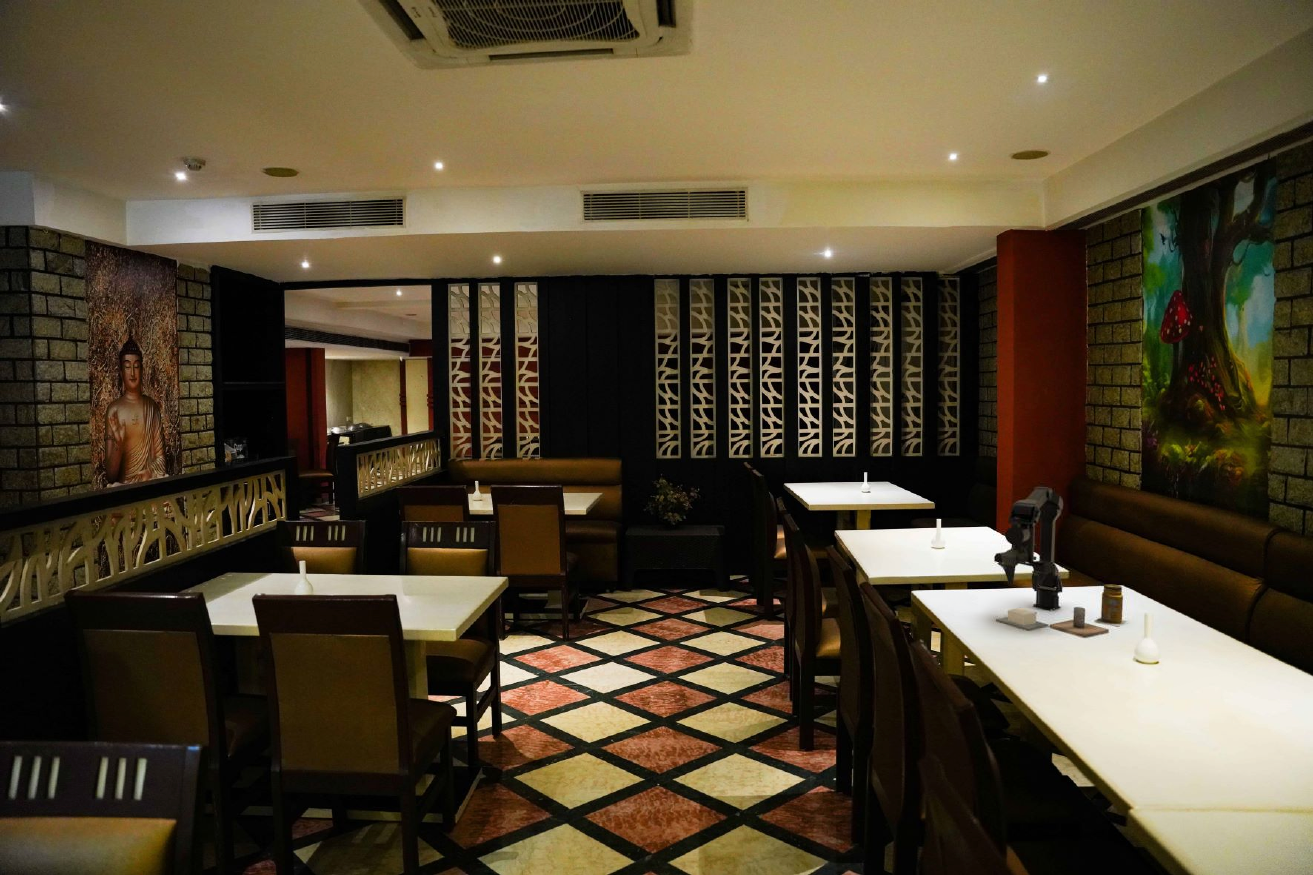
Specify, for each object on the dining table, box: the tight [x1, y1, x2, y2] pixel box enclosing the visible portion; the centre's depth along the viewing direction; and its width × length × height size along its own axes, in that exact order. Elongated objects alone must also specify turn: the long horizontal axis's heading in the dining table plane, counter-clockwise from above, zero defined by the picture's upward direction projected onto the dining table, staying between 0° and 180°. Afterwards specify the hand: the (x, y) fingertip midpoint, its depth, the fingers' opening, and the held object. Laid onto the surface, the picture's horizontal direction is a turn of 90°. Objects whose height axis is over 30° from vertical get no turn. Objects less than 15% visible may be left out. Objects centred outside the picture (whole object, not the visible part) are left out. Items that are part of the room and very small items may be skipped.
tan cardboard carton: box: [1007, 607, 1037, 625], centre depth 257 cm, size 6×6×4 cm
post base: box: [1048, 606, 1110, 639], centre depth 250 cm, size 12×12×7 cm
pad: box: [995, 616, 1050, 632], centre depth 257 cm, size 12×10×1 cm
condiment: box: [1094, 583, 1127, 627], centre depth 259 cm, size 7×8×12 cm
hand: (1023, 587), depth 257 cm, fingers open, 9 cm apart
